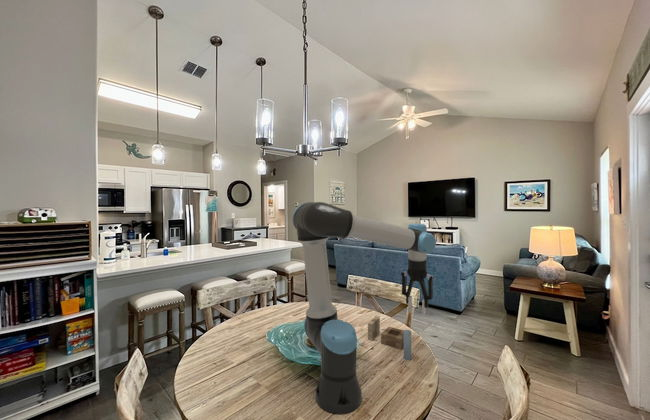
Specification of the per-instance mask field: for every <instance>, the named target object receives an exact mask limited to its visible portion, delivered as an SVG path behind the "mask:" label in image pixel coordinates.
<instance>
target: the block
mask: <svg viewBox="0 0 650 420" xmlns="http://www.w3.org/2000/svg"><path fill="white" fill-rule="evenodd" d="M404 330H405V329H399V328H396V327H392V326H387V327H386V329H384V330H383V331H382V332H380V334H381V335H380V344H381V345H384V346H387V347H390V348H395V349H398V350H402V349H403V348H404Z"/></svg>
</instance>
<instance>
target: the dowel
mask: <svg viewBox="0 0 650 420" xmlns="http://www.w3.org/2000/svg"><path fill="white" fill-rule="evenodd" d="M403 330H404V346H403V359H404V360H405V361H411V360H412V331H411V330H409V329H403Z"/></svg>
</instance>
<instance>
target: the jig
mask: <svg viewBox="0 0 650 420" xmlns="http://www.w3.org/2000/svg"><path fill="white" fill-rule="evenodd" d="M380 321H381V319H380V317H378V316H374V318H372V319H371V320H370V321H368V322H367V340H368V341H370V342H371V341H372V342H373V341H374V340H375V339H376V338H377V337H378V335H380V334H381V330H380V329H381V326H380V325H381V324H380V323H381V322H380Z"/></svg>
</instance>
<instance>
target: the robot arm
mask: <svg viewBox="0 0 650 420" xmlns="http://www.w3.org/2000/svg"><path fill="white" fill-rule="evenodd" d="M295 208H296V209H295V210H294V212H293V214H292V224H293V226H294V228H295V229H296V235H297V242H299V243H300V244H301V245H302V251H303V261H304V270H305V280H306V287H307V288H306V289H307V299H308V308H307V309H306V310H305V316H306V317H305V319H304V323H303V327H304V332H305V335H306V337H307V338H308V340H309V341H310V342H311V343H312V345H313V346H314V347H315V349H316V350H317V351H318V353H319V354H320V375H319V378H318V381H317V383H316V387H315V400H316V404H317V405H318V407H320V408H321V409H323V410H324V411H326V412H328V413H331V414H336V415H337V414H338V415H339V414H340V415H344V414H349V413H351V412H354V411H355V410H357V409H358V408H359V406H360V405H361V403H362V394H363V393H362V387H361V386H360V382H359V379H358V378H359V377H358V376H357V345H358V339H357V338H358V337H357V332H356V329H355V327H354V326H353V325H352V324H351V323H349V322H348V321H344V320H343V319H339V317H338V310H337V307H336V306H335V305H333V301H332V293H331V291H332V290H331V283H330V282H331V281H330V272H329V263H328V260H329V259H328V252H327V243H326V242H328V240H329V239H330V238H337V239H342V240H345V239H348V238H352V239H357V240H362V241H365V242H366V241H368V242H372V243H374V244H375V243H376V244H381V245H384V246H386V247H387V248H392V249H393V248H400V249H404V250H408V251H407V253H408V254H407V257H408V260H407V264H408V265H407V270H405V271H401V277H402V278H401V279H402V280H401V295H404V296H405V304H407V313H408V314H409V313H411V312H412V311H413V310H412V309H413V304H412V303H413V296H412V295H411V293H412V289H413V287H414V283H415V282H418V283H419V285H420V289H421V292H422V296H423V299H422V302H421V303H422V305H421V307H422V308H421V315H422V316H425V315H426V311H427V308H428V307H429V300H432V299H433V298H434V283H433V280H434V278H435V275H433V274H432V275H431V274H429V273H428V271H427V254H430V253H432V252H433V251H434V250H435V249H436V247H437V240H436V236H435V235H434V234H433V233H430V232H428V230H427V225H426V224H424V223H409V224H408V227H407V228H406V227H404V226H399V225H395V224H391V223H387V222H383V221H381V220H375V219H372V218H367V217H365V216H364V217H363V216H359V215H355V214H353V212H352V211H351V210H348V209H345V208H340V207H339V206H334V205H332V204H330V203H327V202H322V201H315V202H313V201H308V202H304V203H302V204H300V205H299V206H297V207H295ZM407 276H408V277H409V283H408V282H407V278H408V277H407ZM426 278H427V281H428V282H427V283H428V284H427V285H428V286H427V287H426V282H425V279H426ZM407 283H408V286H407ZM427 289H428V290H427Z"/></svg>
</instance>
